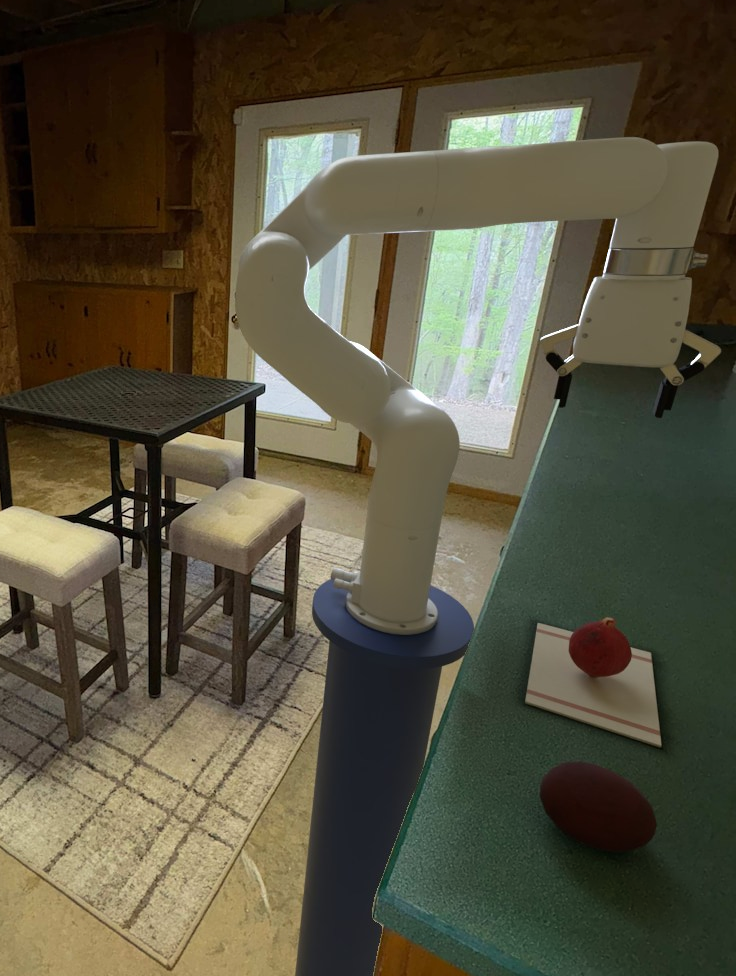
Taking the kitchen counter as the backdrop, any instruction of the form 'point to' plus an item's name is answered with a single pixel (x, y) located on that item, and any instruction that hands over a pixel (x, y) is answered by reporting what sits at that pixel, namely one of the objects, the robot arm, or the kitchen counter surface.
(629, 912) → the kitchen counter surface
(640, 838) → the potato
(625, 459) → the kitchen counter surface
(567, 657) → the napkin
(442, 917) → the kitchen counter surface
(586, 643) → the pomegranate
